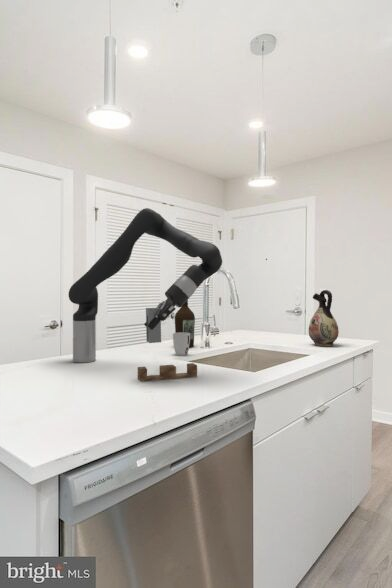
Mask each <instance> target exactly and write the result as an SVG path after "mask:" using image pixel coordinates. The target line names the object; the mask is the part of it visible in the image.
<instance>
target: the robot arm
mask: <svg viewBox="0 0 392 588" xmlns="http://www.w3.org/2000/svg"><path fill="white" fill-rule="evenodd" d="M144 234H146V235H149V236H152V237H156V238H158V239H162V240H163V241H166V242H168V243H169V244H171V245H172V246H173V247H174V248H176V249H177V250H178V251H180V252H182V253H183V254H185V255H187V256H188V257H190V258H193V259H195V258H197V257H198V258H199V259H201V263H200V264H199V265H197V264H192V265H191V266H189V267H188V268H187V269H186V271H184V273H183V274H182V275H181V276H179V277H178V278H177V279H176V280H175V281H174V282H173V283H172V285H170V286H169V288H168V289H167V290H166V291H165V292H164V296H165V297H166V300H162V301H161V302H160V303H158V305H157V306H156V307H155V308H160V309H159V313H158V314H157V315H156V316H155V318H154V319H153V320H152V321H151V322H150V323H149V324H148V327H149V328H150V329H151V330H153V329H154V328H155V327H156V325H157V324H158V323H159V321H160V322H161V323H162V322H164V321H165V320H166V319H167V318H168V317H169V316H170V315H171V314H172V313H174V311H176V307H178V308H181V307H182V306H183V304H184V303H185V302H186V301H187V300H188V301H189V299H190V298H191V297H192V296H193V295H194V293H195V292H196V290H197V288H199V287H200V286H201V285H202V284H203V283H204V281H205V280H208V278H210V277H211V276H213V275H214V274H216V273H217V272H218V271H219V270H220V269H221V267H222V265H223V259H222V254H221V251H220V249H219V247H218V246H217V245H215V244H214V243H212V242H210V241H209V242H208V241H205V240H201V239H199V238H197V237H195V236H193V235H192V234H189V233H188V232H186V231H184V230H181V229H179V228H177V227H175V226H173V225H172V224H171V223H170V222H168V220H166V219H165V218H164V217H163V216H162V215H161V213H158V212H156V211H155V210H153V209H151V208H149V207H146V208H143V209H141V210H140V211H138V213H136V215H135V216H134V217H133V218H132V219H131V221H130V223H129V224H128V226H127V227H126V228H125V230H124V231H123V232H122V233H121V234H120V235H119V237H118V238H117V239H116V240H115V241H114V243H112V245H111V246H109V248H108V249H107V250H106V251H105V252H103V254H102V255H101V256H100V258H99V259H97V261H96V262H94V264H93V265H92V266H90V268H89V270H87V272H85V273H84V274H83V275H82V276H81V277H80V278H79V279H77V280H76V281H75V282H74V283H72V285H70V288H69V289H68V299H69V301H70V302H71V303H73V304H75V305H78V309H77V310H76V312H74V313H72V362H73V363H92V362H95V361H96V360H97V359H96V358H97V354H96V349H97V348H96V347H97V346H96V345H97V343H96V336H97V335H96V331H97V330H96V329H97V328H96V323H97V322H96V318H97V317H96V316H97V314H98V308H99V307H98V306H99V292H98V286H99V285H100V284H101V283H103V282H104V281H106V280H108V279H110V278H111V277H113V276H114V275H116V274H117V273H118V272H120V271H121V270H122V268H123V267H125V266H126V264H127V263H128V262H129V261H130V259H131V256H132V252H133V250H134V249H133V248H134V245H136V243H137V241H139V239H140V238H141V237H142V236H143V235H144ZM144 327H146V322H145V323H144Z"/></svg>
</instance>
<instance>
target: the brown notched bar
mask: <svg viewBox="0 0 392 588" xmlns="http://www.w3.org/2000/svg"><path fill="white" fill-rule="evenodd" d="M197 377H198V365H197V364H196V363H195V362H192V363H189V362H188V363H186V372H177V366H176V365H174V364H164V365H163V364H160V365H159V374H152V375H148V368H147V367H146V366H138V367H137V380H138V381H139V382H150V381H151V382H152V381H161V380H173V379H185V378H186V379H187V378H197Z"/></svg>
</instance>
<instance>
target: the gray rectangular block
mask: <svg viewBox="0 0 392 588" xmlns="http://www.w3.org/2000/svg"><path fill="white" fill-rule="evenodd" d="M159 309H160V308H156V307H145V323H146V326H145V328H146V329H145V330H146V331H145V334H146V337H145V338H146V342H147V343H148V344H152V343H153V344H155V343H156V344H157V343H162V321H161V322H160V321H159V323H158V324H157V325H156V327H155V328H154V329H153V330H151V329H150V328H149V327H148V324H149V323H150V322H151V321H152V320H153V319H154V318H155V316H156V315H157V314H158V313H159Z"/></svg>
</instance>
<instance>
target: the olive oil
mask: <svg viewBox="0 0 392 588" xmlns="http://www.w3.org/2000/svg"><path fill="white" fill-rule="evenodd" d="M188 301H189V299H188V300H187V301H186V302H185V303H184V304H183V306H182V307H179V309H178V310H177V311H176V313H175V316H174V331H175V332H174V333H178V332H186V333H190V344H189V349H192V348H194V347H195V327H196V326H195V324H196V318H195V317H196V316H195V314H194V312H193V311H192V310H191V308H190V307H189V302H188Z"/></svg>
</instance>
